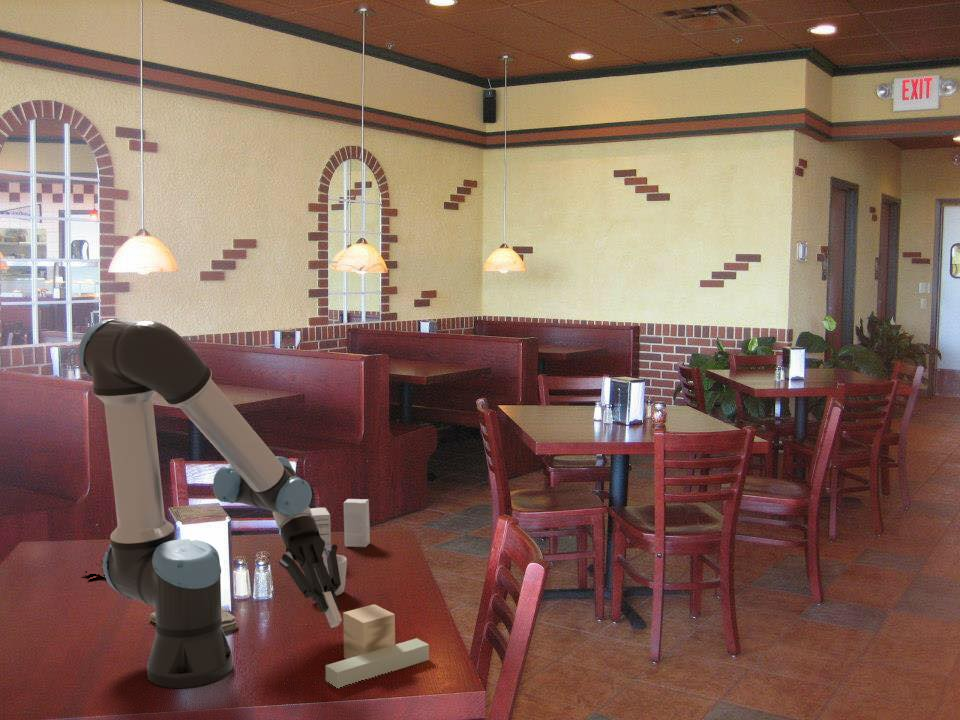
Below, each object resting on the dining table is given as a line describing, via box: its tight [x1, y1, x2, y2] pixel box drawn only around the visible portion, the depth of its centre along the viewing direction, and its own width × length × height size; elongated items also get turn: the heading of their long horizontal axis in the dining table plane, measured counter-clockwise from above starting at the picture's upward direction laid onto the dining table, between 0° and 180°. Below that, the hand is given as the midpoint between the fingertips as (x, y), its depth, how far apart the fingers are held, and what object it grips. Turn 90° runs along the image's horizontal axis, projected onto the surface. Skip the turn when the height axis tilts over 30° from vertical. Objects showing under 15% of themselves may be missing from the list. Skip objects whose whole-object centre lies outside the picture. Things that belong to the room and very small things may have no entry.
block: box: [342, 604, 396, 659], centre depth 187 cm, size 7×7×9 cm
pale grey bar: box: [325, 637, 430, 689], centre depth 182 cm, size 20×4×3 cm, turn 129°
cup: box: [314, 554, 348, 597], centre depth 222 cm, size 11×8×8 cm
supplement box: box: [309, 507, 332, 555], centre depth 248 cm, size 7×7×13 cm
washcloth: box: [148, 607, 239, 634], centre depth 205 cm, size 12×18×3 cm, turn 46°
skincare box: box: [342, 498, 371, 548], centre depth 261 cm, size 6×4×12 cm
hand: (336, 623), depth 196 cm, fingers closed
